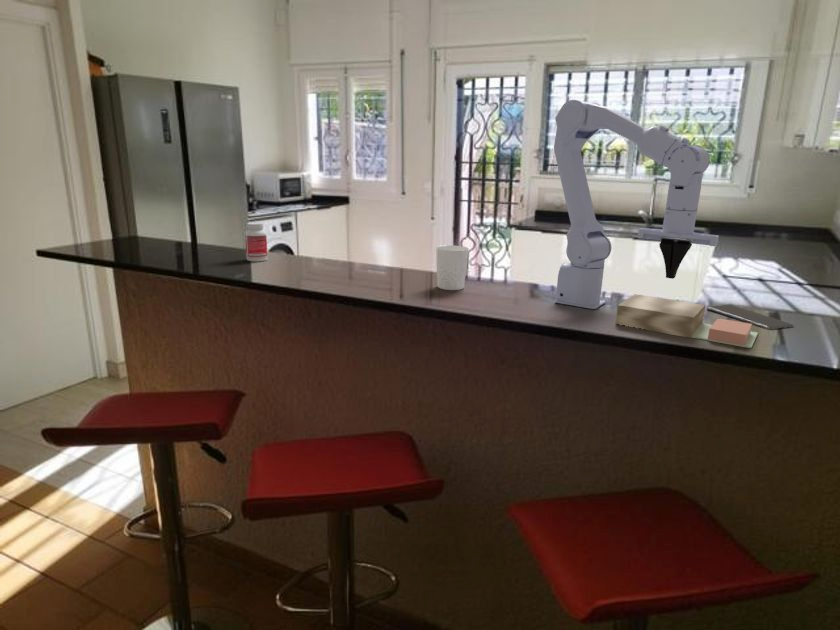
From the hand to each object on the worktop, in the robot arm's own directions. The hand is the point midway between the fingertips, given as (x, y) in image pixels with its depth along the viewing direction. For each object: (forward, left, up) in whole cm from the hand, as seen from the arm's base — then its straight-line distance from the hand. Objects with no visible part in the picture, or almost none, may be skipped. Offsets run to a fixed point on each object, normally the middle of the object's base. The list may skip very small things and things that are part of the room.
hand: (670, 277), depth 115 cm
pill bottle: (-114, -11, -10) cm, 115 cm away
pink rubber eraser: (+13, -4, -7) cm, 15 cm away
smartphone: (+14, +15, -10) cm, 23 cm away
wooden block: (0, -3, -9) cm, 10 cm away
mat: (+12, -3, -9) cm, 15 cm away
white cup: (-50, -3, -10) cm, 51 cm away
